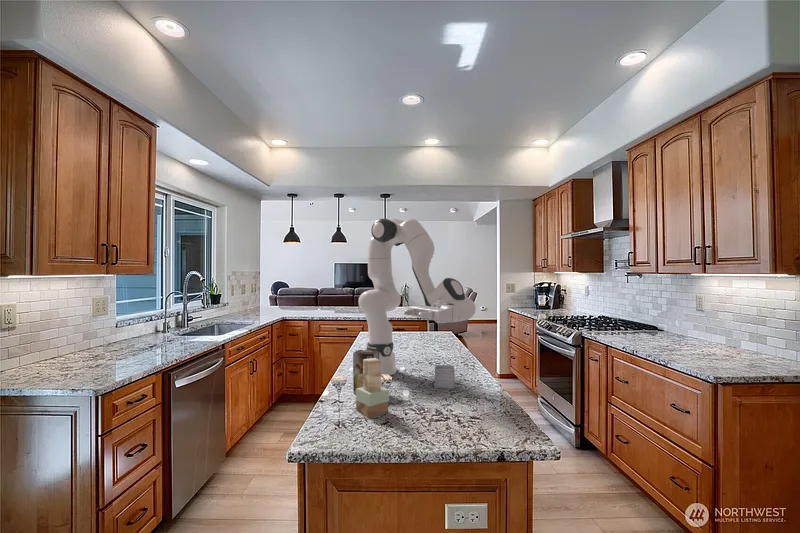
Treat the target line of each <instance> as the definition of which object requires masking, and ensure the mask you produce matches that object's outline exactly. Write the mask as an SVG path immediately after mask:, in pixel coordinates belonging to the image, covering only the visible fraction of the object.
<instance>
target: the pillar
mask: <svg viewBox="0 0 800 533" xmlns="http://www.w3.org/2000/svg"><path fill="white" fill-rule="evenodd" d="M381 387H382V376H381V360H379V359H376V358H370V359H363V389H364V390H366V391H368V392H373V391H379V390H381Z"/></svg>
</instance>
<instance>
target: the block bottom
mask: <svg viewBox="0 0 800 533" xmlns="http://www.w3.org/2000/svg"><path fill="white" fill-rule="evenodd" d="M355 411H356V412H358V413H359V414H361V415H363V417H366V418H367V419H368V418H372V417H376V416H381V415H387V414H389V402H385V403H381V404H377V405H374V406H370V407H369V406H367V405H365V404H363V403H361V402H359V401H357V400H356V399H355Z"/></svg>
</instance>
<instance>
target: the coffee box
mask: <svg viewBox="0 0 800 533" xmlns="http://www.w3.org/2000/svg"><path fill="white" fill-rule="evenodd" d="M370 358H376V359H379V351H370V350H367V349H366V350H365V349H358V350H357V349H356V350H355V351H354V352H352V368H353V369H352V371H353V372H352V377H353V382H352V383H353V385H352V388H353V389H352V390H353V391H352V394H354V395H356V388H361V387H363V359H370Z"/></svg>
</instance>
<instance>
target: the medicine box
mask: <svg viewBox="0 0 800 533" xmlns="http://www.w3.org/2000/svg"><path fill="white" fill-rule="evenodd" d="M455 374H456V373H455V365H453V364H452V365H451V364H435V366H434V388H435V389H447V390H449V389H451V390H455V379H456V378H455V376H456V375H455Z"/></svg>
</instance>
